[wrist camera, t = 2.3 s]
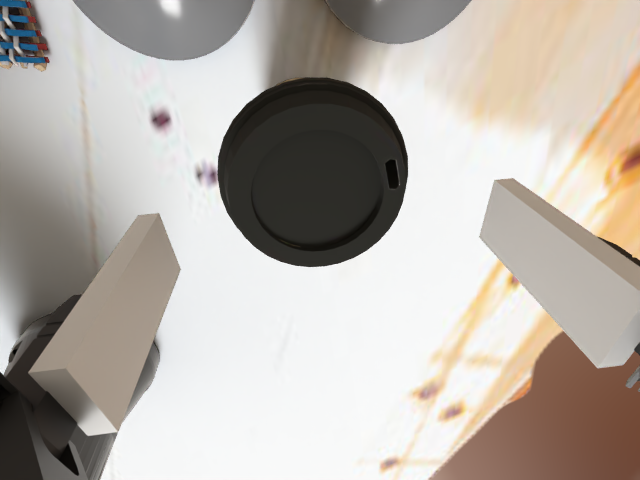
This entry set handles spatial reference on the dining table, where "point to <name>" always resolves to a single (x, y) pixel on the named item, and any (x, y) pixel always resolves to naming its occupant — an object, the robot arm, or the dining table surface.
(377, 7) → the dish low side
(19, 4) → the woven mat
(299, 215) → the coffee cup
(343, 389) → the dining table surface
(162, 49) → the grey flat disc
